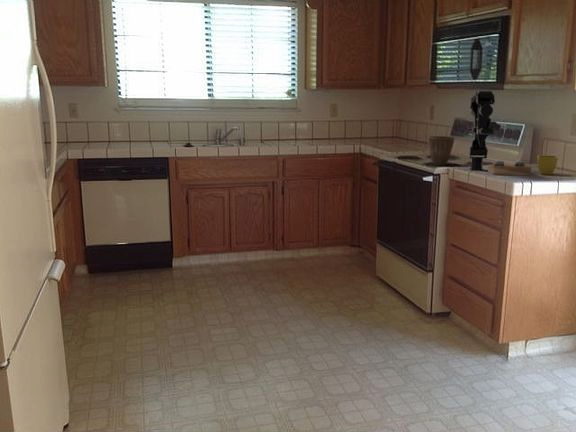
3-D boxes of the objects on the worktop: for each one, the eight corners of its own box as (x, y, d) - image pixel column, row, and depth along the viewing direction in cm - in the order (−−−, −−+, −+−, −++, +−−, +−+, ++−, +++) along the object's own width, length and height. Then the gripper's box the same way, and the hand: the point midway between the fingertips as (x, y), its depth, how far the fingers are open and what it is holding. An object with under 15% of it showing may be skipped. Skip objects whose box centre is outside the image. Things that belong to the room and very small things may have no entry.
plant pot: (458, 165, 316) (459, 137, 313) (435, 166, 312) (437, 138, 308) (443, 162, 330) (444, 136, 327) (421, 163, 326) (423, 136, 322)
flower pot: (556, 175, 269) (557, 157, 267) (536, 174, 272) (538, 156, 270) (554, 173, 277) (556, 155, 275) (535, 172, 280) (537, 155, 278)
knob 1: (493, 172, 279) (493, 160, 278) (501, 172, 279) (502, 160, 277) (495, 173, 275) (496, 161, 274) (504, 173, 274) (505, 161, 273)
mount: (487, 172, 282) (488, 164, 281) (524, 172, 280) (524, 164, 279) (493, 174, 272) (493, 166, 271) (530, 175, 270) (531, 167, 270)
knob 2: (513, 172, 278) (514, 160, 277) (522, 172, 278) (523, 161, 276) (515, 173, 274) (516, 161, 273) (525, 173, 273) (526, 161, 272)
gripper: (505, 116, 265) (503, 149, 268) (494, 115, 283) (492, 146, 286) (482, 116, 266) (480, 148, 269) (472, 115, 284) (470, 146, 287)
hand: (481, 147), depth 278 cm, fingers closed
